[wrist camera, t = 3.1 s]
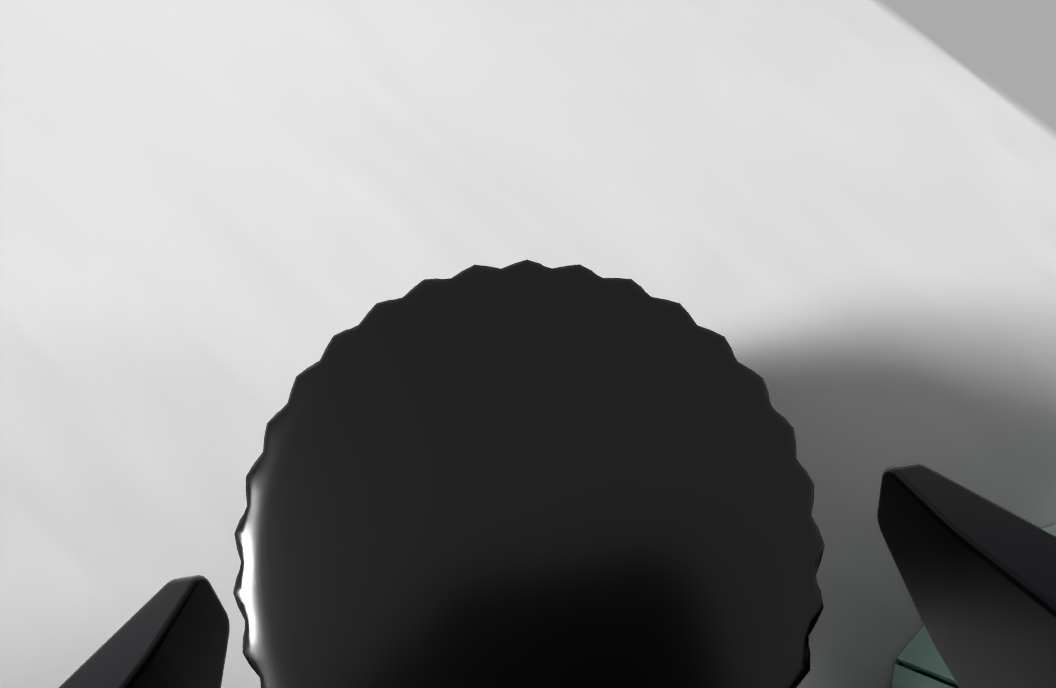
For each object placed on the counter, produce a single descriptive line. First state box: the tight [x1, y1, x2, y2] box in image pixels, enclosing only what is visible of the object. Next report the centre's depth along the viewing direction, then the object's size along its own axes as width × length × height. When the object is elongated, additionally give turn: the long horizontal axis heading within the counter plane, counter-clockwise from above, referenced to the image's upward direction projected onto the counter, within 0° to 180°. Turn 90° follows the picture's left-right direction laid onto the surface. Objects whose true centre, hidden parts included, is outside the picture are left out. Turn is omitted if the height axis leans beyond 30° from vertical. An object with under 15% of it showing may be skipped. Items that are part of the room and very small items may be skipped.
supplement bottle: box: [233, 260, 824, 688], centre depth 11 cm, size 7×7×12 cm
